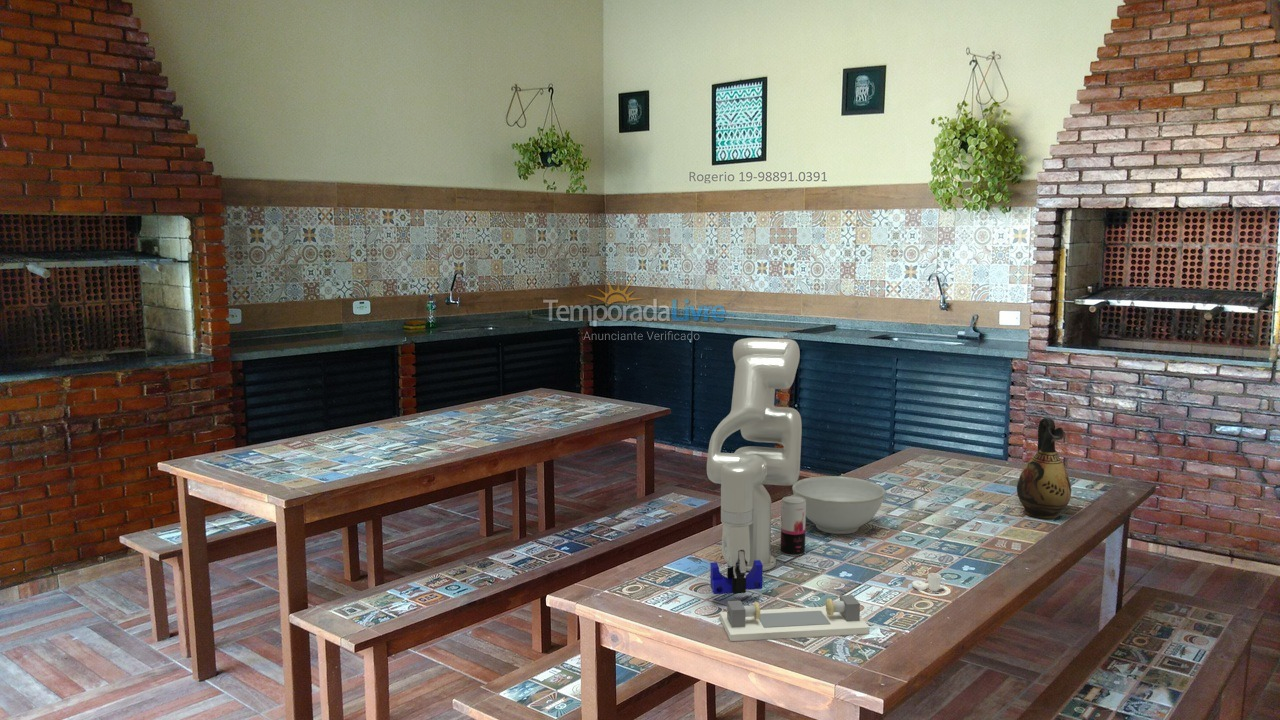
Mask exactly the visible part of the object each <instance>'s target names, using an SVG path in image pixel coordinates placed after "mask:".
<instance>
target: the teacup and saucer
mask: <svg viewBox="0 0 1280 720" xmlns="http://www.w3.org/2000/svg"><path fill="white" fill-rule="evenodd" d="M942 580H944V583H943V584H941V581H942ZM946 583H947V580H946V579H945V578H944V577H942V575H941V574H939V573H936V572H929V573H928V574H927V582H924V581H921V580H913V581H912V582H911V586H912V587H913V588H914V589H916V590H917V591H918V592H920V593H922V594H925V595H928V596H931V597H932V596H935V597H942V596H947V595H950V594H951V592H952V591H951V589H950V588H949V587H947V586H946ZM927 589H929V590H930V591H932V592H938V591H940V590H941V589H944V593H938V594H937V593H930V592H926V591H925V590H927Z"/></svg>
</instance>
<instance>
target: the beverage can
mask: <svg viewBox="0 0 1280 720" xmlns="http://www.w3.org/2000/svg"><path fill="white" fill-rule="evenodd" d="M781 499H782V500H781V506H780V507H781V513H780V514H781V515H780V552H781V553H782V554H783V555H785V554H786V555H785V556H788V555H790V556H791V557H799V555H800V556H802V555H803V554H805V552H806V520H807V519H806V518H807V517H806V502H805V499H804V498H802V497H796V496H794V495H793V496H792V495H788V496H784V497H782V498H781Z"/></svg>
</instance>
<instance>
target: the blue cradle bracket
mask: <svg viewBox="0 0 1280 720" xmlns="http://www.w3.org/2000/svg"><path fill="white" fill-rule="evenodd" d="M709 565H710V570H709V571H710V575H709V576H710V578H709V579H710V580H709V581H710V582H709V583H710V589H711V591H712V593H713V595H725V594H728V595H729V594H733V592H732V579H729V578H727V576H724V575H723V574H722V573H721V571H720V567H719V565H718V562H714V561H713V562H710V564H709ZM763 574H764V571H763V565H762V563H761V561H760V560H754V563H753V567H752V569H751V570H750V571H748V573H746V591H747V590H748V591H749V590H762V589H763V580H764V579H763Z"/></svg>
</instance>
